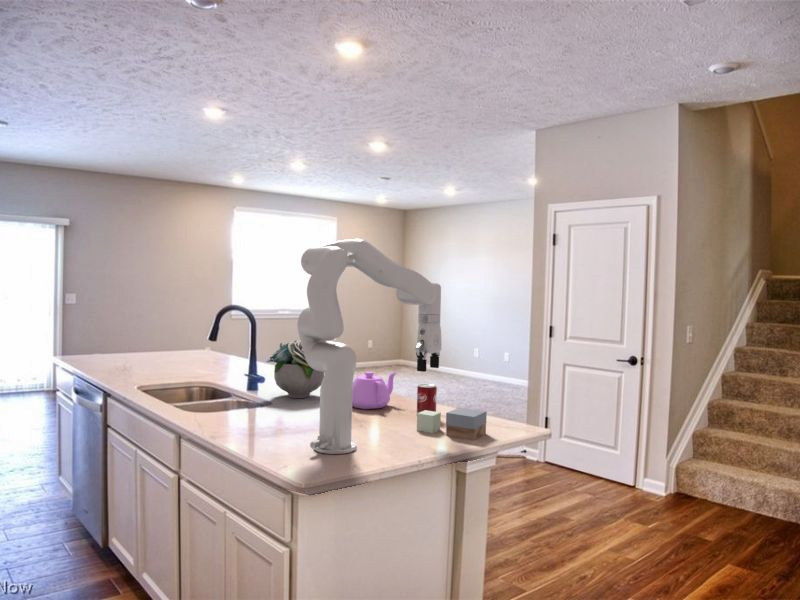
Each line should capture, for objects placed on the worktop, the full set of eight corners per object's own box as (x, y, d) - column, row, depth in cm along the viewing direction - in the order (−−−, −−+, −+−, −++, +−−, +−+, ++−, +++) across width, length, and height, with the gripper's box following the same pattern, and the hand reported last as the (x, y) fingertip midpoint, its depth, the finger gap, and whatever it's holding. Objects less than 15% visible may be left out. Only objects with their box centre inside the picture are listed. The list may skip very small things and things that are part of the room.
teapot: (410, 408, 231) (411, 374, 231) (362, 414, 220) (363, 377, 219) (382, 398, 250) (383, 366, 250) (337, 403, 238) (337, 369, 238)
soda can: (419, 420, 212) (420, 387, 212) (414, 415, 219) (414, 384, 219) (438, 419, 214) (439, 387, 213) (432, 415, 221) (433, 383, 220)
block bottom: (474, 441, 187) (474, 429, 186) (446, 436, 192) (446, 424, 191) (485, 434, 195) (486, 422, 195) (458, 430, 200) (458, 418, 200)
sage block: (432, 433, 194) (432, 415, 194) (416, 430, 197) (417, 413, 197) (440, 429, 199) (440, 412, 199) (424, 427, 202) (425, 410, 202)
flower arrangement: (303, 405, 232) (304, 344, 232) (257, 397, 245) (258, 339, 244) (340, 395, 254) (341, 339, 253) (295, 389, 266) (296, 336, 266)
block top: (473, 429, 186) (474, 416, 186) (446, 424, 191) (446, 412, 191) (486, 423, 195) (486, 411, 195) (459, 419, 200) (459, 407, 200)
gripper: (427, 321, 188) (426, 373, 189) (449, 318, 203) (448, 367, 204) (407, 320, 192) (406, 371, 192) (430, 317, 207) (429, 365, 207)
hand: (428, 369), depth 198 cm, fingers open, 9 cm apart
